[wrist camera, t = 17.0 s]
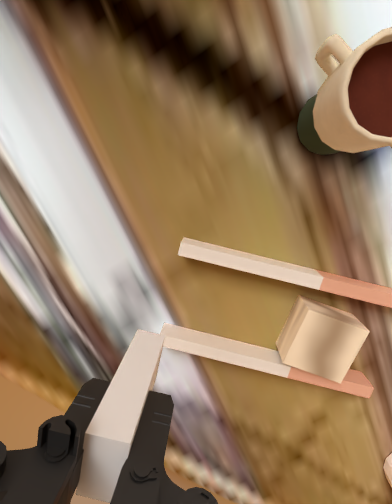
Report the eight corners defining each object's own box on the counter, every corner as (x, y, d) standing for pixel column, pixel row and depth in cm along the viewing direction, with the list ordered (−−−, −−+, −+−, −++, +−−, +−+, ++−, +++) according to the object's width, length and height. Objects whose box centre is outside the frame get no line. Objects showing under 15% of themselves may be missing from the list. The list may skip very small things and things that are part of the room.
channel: (161, 332, 38) (157, 345, 35) (183, 237, 35) (180, 242, 32) (357, 381, 38) (369, 398, 35) (397, 289, 35) (413, 299, 32)
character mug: (386, 136, 31) (501, 105, 19) (332, 186, 33) (405, 188, 20) (317, 57, 30) (390, -34, 17) (265, 112, 31) (297, 66, 19)
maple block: (275, 342, 38) (282, 362, 33) (297, 294, 36) (308, 309, 32) (326, 360, 38) (340, 383, 33) (351, 313, 36) (369, 331, 32)
